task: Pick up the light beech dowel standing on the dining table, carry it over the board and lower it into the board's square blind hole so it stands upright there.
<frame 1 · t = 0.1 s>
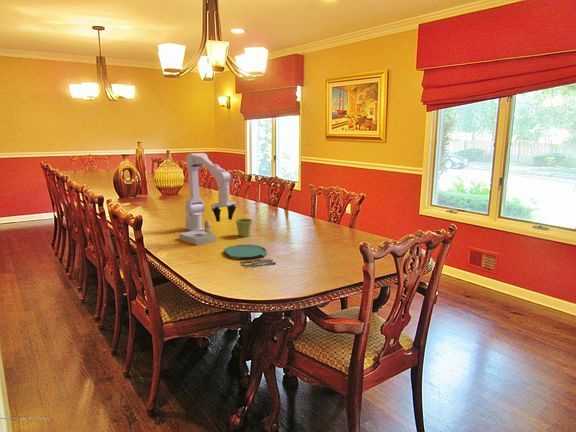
hand: (224, 220, 224), 10 cm above the table, tool pointing down, fingers open, 7 cm apart
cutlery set: (248, 258, 197), on the table
plant pot: (243, 236, 234), on the table
dowel: (207, 235, 234), on the table
hole board: (197, 240, 223), on the table
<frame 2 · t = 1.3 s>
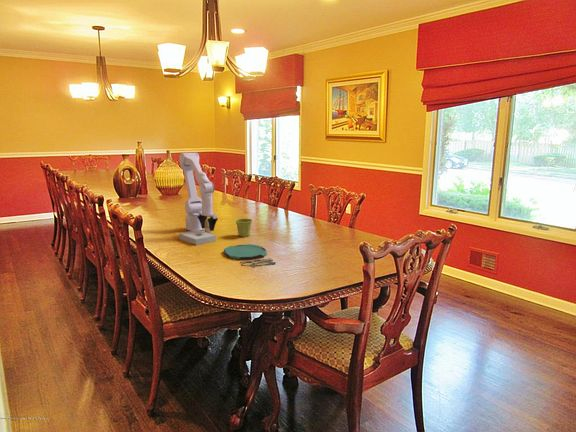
hand: (207, 229, 233), 3 cm above the table, tool pointing down, fingers open, 7 cm apart
nothing on the table moved.
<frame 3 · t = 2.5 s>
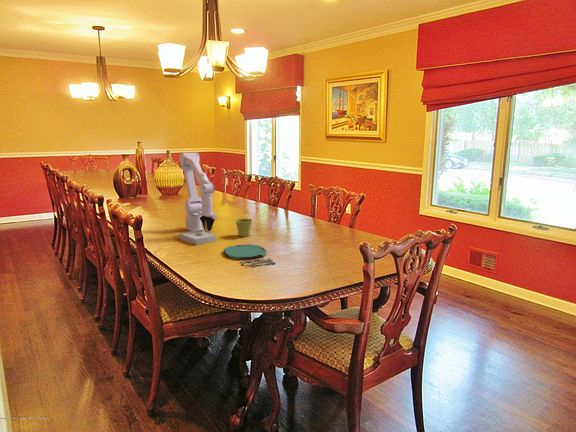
hand: (207, 229, 233), 3 cm above the table, tool pointing down, fingers closed on dowel, 3 cm apart
dowel: (207, 235, 234), on the table, touching gripper
everything else where it was.
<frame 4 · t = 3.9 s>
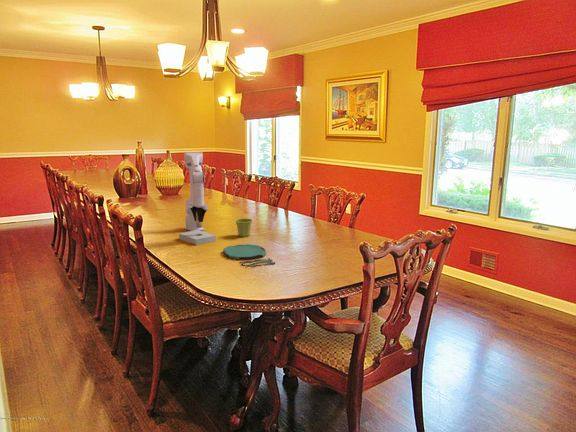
hand: (198, 221, 221), 10 cm above the table, tool pointing down, fingers closed on dowel, 3 cm apart
dowel: (199, 227, 222), point 7 cm above the table, touching gripper
everything else where it was.
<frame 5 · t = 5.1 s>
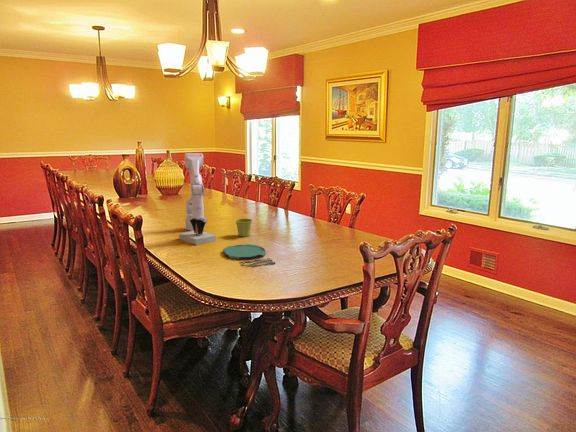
hand: (198, 233, 222), 4 cm above the table, tool pointing down, fingers closed on dowel, 3 cm apart
dowel: (198, 238, 222), point 1 cm above the table, touching gripper
everything else where it was.
when the fingers open (4 cm above the table, at t = 5.7 s): dowel stays where it is, resting on hole board.
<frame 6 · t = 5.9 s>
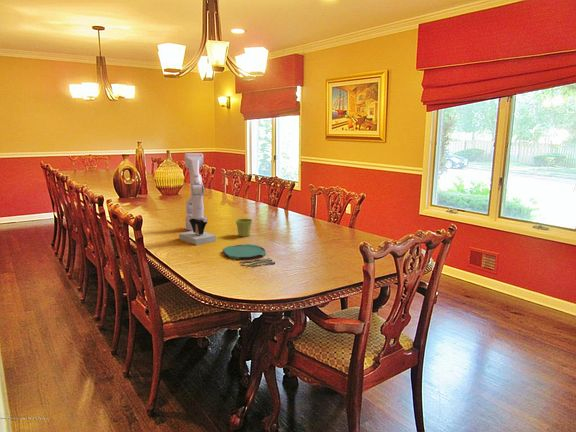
hand: (198, 233, 222), 4 cm above the table, tool pointing down, fingers open, 4 cm apart
dowel: (198, 239, 222), resting on hole board
everything else where it was.
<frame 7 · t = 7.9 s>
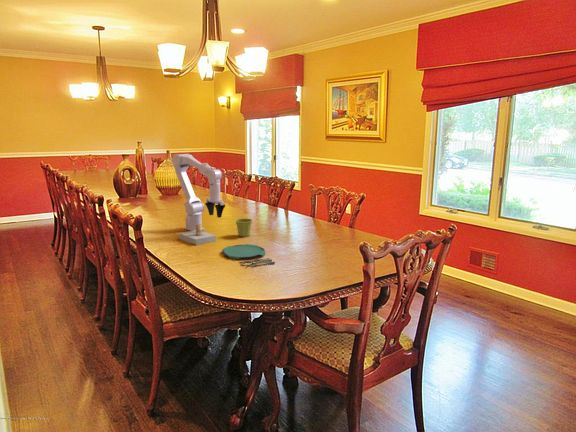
hand: (215, 216, 235), 10 cm above the table, tool pointing down, fingers open, 7 cm apart
nothing on the table moved.
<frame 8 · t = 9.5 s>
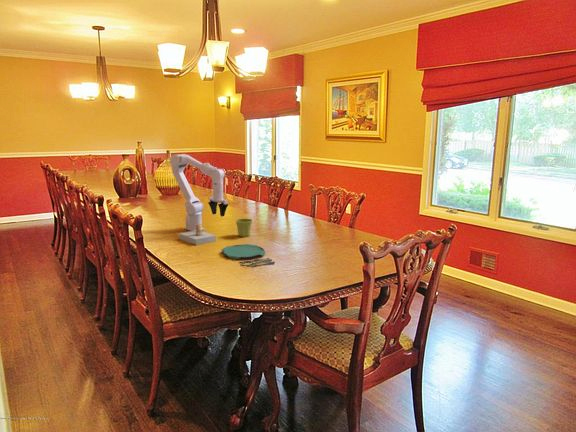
hand: (218, 215, 238), 10 cm above the table, tool pointing down, fingers open, 7 cm apart
nothing on the table moved.
at the end: dowel 0.2 cm from the target spot on the hole board, point 0.4 cm above the hole board's base; dowel tilted 1°; the gripper is holding nothing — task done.
